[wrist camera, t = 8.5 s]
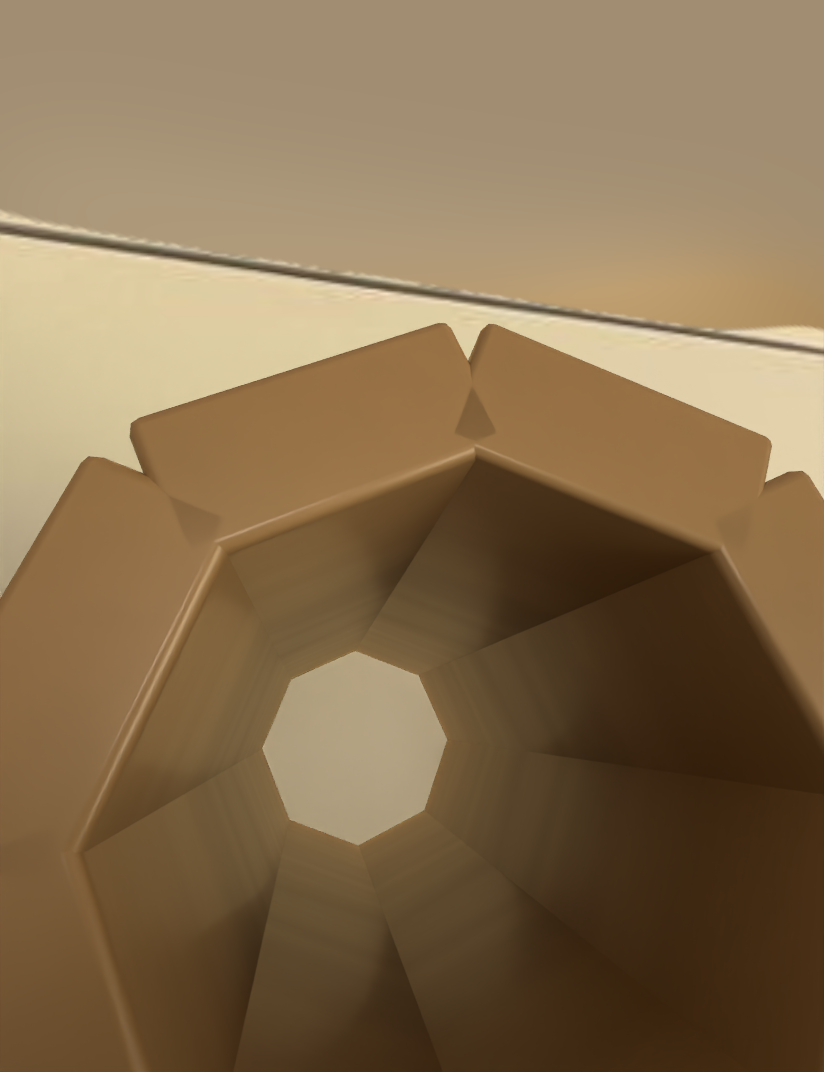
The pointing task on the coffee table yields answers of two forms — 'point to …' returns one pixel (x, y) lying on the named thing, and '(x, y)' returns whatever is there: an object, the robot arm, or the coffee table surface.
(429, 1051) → the tall ring
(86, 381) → the coffee table surface
